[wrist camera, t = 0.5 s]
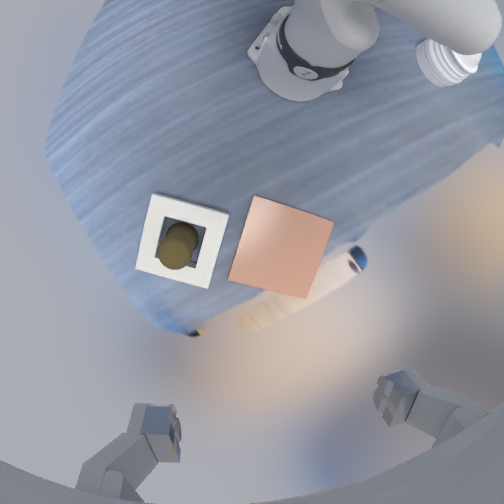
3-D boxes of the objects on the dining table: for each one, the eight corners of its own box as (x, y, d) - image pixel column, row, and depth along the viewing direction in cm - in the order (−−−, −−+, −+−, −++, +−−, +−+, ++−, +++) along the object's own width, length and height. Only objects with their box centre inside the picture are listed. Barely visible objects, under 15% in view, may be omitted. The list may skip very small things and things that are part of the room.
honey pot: (413, 69, 45) (466, 50, 28) (416, 33, 43) (461, 10, 25) (450, 96, 48) (501, 86, 31) (451, 59, 45) (497, 45, 28)
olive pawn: (160, 247, 49) (147, 265, 39) (173, 216, 48) (161, 227, 38) (190, 260, 50) (184, 282, 40) (204, 230, 49) (201, 244, 39)
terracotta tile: (253, 195, 49) (254, 195, 48) (333, 221, 52) (334, 222, 51) (227, 278, 52) (227, 279, 52) (305, 297, 55) (306, 298, 55)
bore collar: (155, 193, 47) (152, 194, 44) (228, 213, 49) (229, 215, 46) (139, 263, 49) (135, 268, 46) (208, 282, 52) (207, 288, 49)
